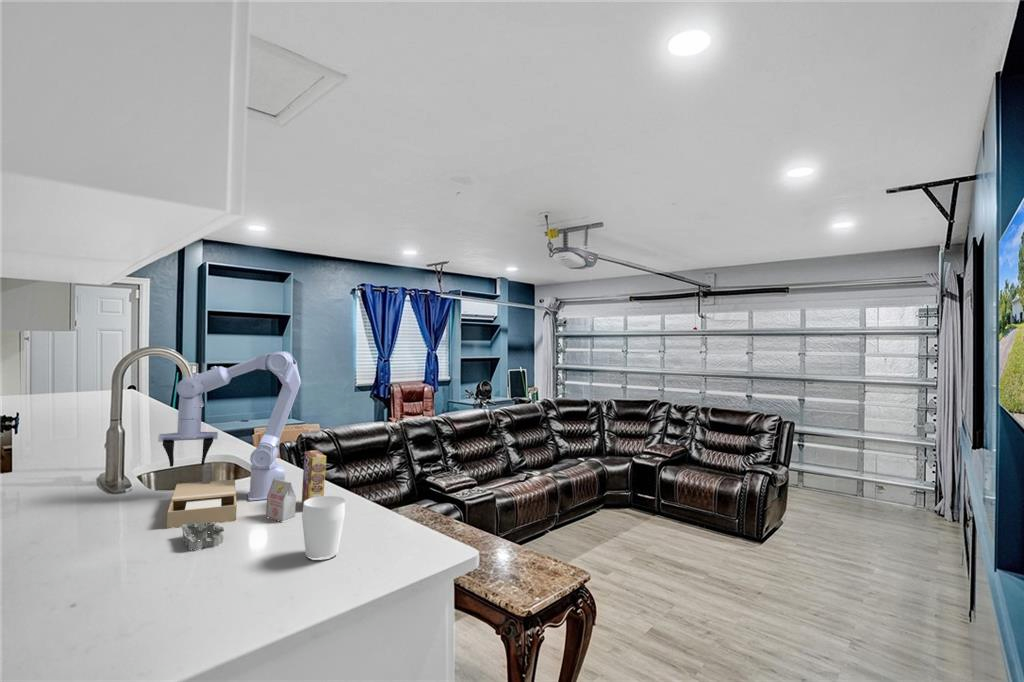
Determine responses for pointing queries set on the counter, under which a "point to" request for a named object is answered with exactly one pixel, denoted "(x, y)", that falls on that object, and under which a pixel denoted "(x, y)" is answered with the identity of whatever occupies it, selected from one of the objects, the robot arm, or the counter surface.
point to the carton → (201, 511)
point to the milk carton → (281, 501)
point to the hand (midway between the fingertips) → (187, 464)
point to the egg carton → (202, 535)
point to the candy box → (313, 475)
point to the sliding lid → (204, 488)
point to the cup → (323, 525)
